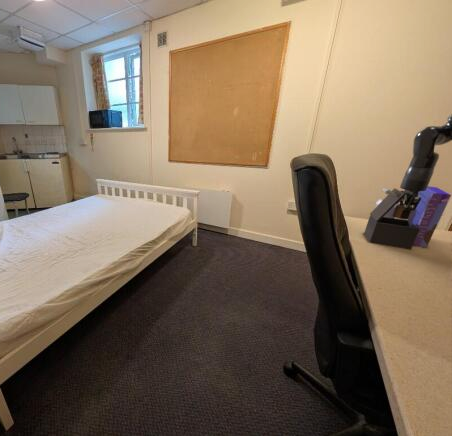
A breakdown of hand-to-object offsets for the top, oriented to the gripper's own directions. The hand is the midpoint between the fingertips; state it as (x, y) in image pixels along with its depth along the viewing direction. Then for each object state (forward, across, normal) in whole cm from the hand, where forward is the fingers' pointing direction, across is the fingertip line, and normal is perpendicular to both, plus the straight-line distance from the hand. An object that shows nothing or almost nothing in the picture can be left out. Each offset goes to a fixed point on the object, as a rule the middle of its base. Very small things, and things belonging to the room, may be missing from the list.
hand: (401, 216), depth 97 cm
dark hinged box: (+13, +1, +2) cm, 13 cm away
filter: (0, 0, 0) cm, 0 cm away
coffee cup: (+13, +20, -1) cm, 23 cm away
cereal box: (+13, +9, -10) cm, 19 cm away
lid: (-4, +1, +5) cm, 7 cm away
